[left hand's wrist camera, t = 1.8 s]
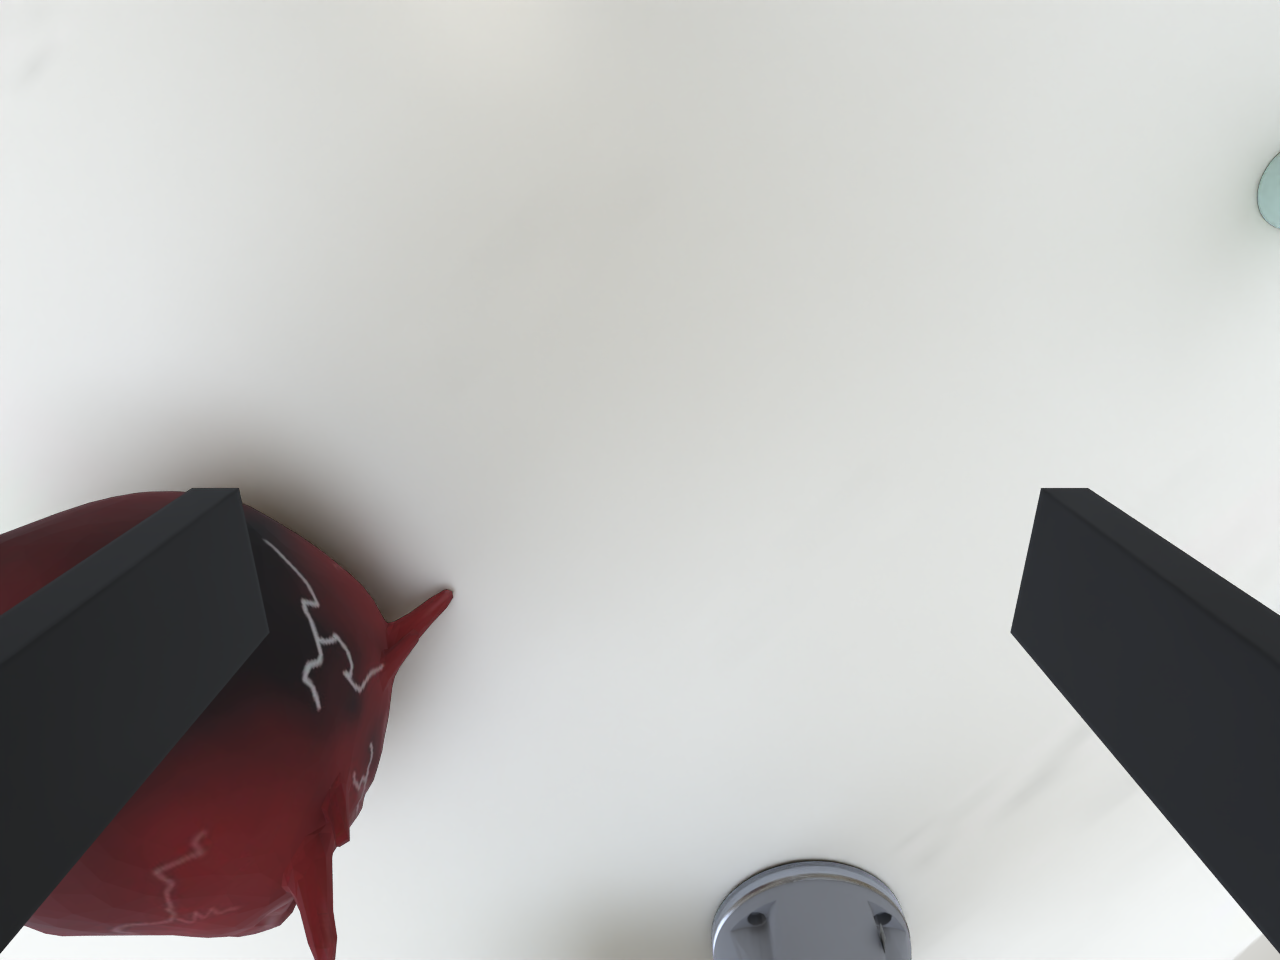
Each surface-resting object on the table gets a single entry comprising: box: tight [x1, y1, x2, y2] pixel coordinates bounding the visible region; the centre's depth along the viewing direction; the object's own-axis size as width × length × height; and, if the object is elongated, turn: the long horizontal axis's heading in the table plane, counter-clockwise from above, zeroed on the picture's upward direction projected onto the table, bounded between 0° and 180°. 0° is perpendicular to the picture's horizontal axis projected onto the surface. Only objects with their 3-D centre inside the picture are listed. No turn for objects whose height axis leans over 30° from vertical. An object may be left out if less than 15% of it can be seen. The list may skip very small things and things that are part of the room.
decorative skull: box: [0, 491, 453, 960], centre depth 40 cm, size 21×24×25 cm
